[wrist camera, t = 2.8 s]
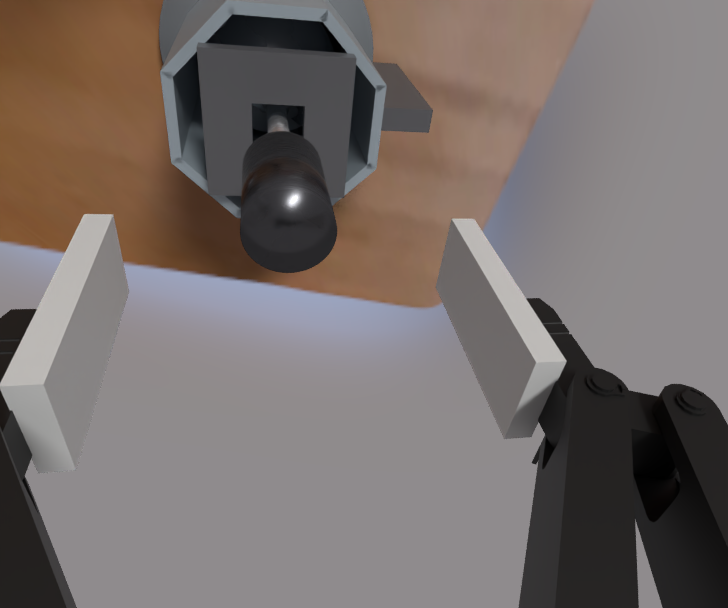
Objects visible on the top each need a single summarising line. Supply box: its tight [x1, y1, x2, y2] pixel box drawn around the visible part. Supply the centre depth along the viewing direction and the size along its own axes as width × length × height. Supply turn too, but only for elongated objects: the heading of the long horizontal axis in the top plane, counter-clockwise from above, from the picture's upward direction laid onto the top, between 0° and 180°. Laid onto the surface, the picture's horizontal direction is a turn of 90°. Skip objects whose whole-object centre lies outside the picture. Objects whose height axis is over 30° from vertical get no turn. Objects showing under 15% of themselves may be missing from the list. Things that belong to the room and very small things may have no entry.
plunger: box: [207, 14, 337, 273], centre depth 26 cm, size 8×8×21 cm
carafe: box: [160, 0, 433, 218], centre depth 30 cm, size 13×10×14 cm
